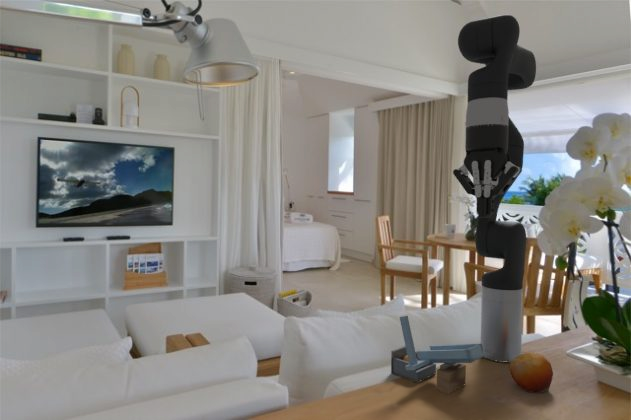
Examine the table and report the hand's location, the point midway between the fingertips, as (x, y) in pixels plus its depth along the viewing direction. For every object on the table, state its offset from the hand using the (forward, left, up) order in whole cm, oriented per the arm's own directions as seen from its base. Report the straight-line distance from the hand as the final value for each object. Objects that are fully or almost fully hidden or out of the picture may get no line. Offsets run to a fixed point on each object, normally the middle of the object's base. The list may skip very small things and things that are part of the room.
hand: (485, 217), depth 83 cm
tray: (-1, -16, -35) cm, 39 cm away
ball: (-1, -17, -33) cm, 37 cm away
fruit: (-13, +4, -35) cm, 38 cm away
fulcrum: (-1, -7, -35) cm, 36 cm away
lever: (+2, -7, -29) cm, 30 cm away
